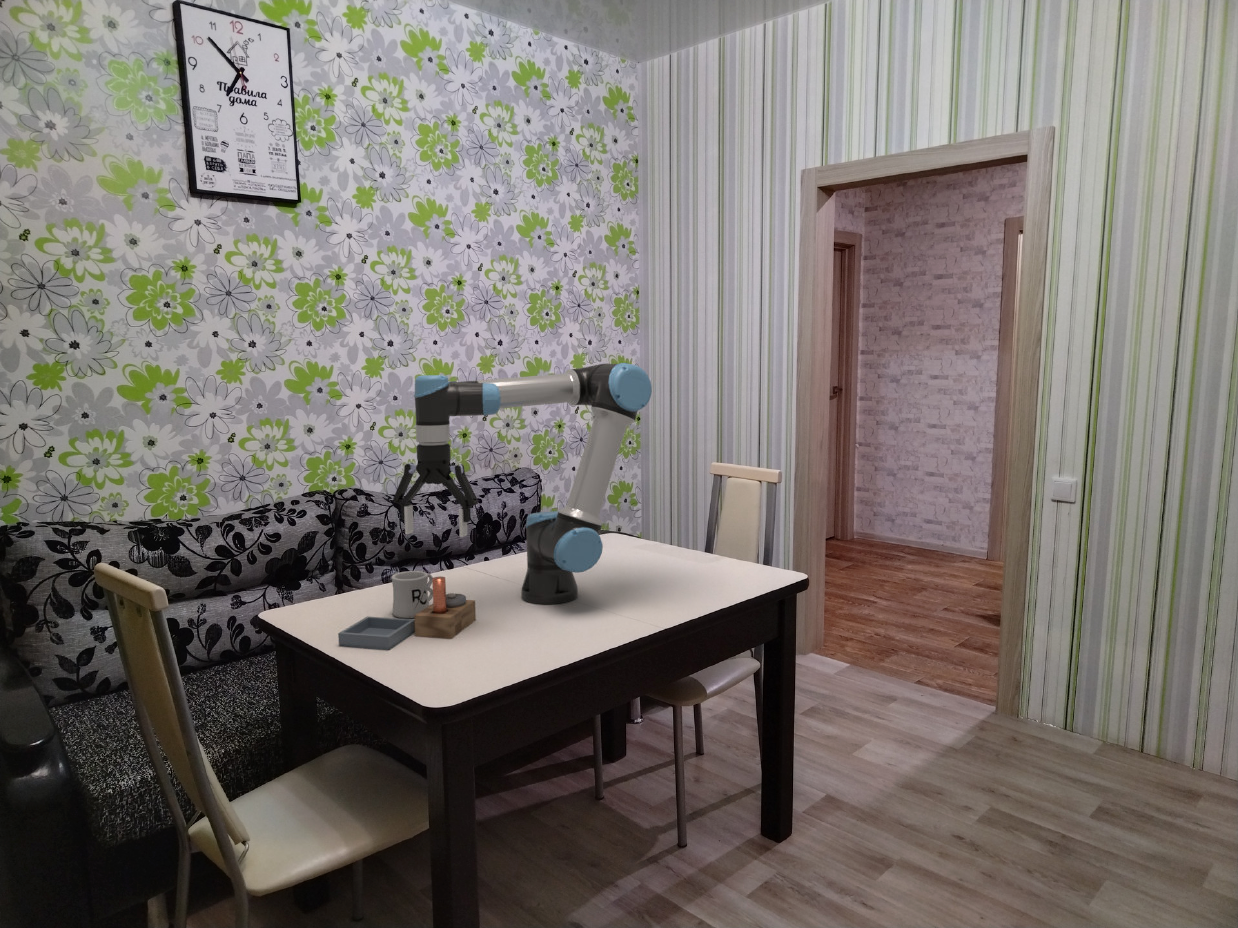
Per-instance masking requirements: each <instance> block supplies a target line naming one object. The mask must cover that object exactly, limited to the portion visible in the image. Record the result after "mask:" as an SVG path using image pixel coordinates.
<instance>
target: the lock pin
mask: <svg viewBox="0 0 1238 928" xmlns="http://www.w3.org/2000/svg"><path fill="white" fill-rule="evenodd" d="M446 583H447V582H446V577H445V576H441V575H440V576H435V577H433V578H432V584H431V586H432V590H433V597H432V604H433V612H434V614H445V613H446V612H447V609H446V594H447V588H446V586H447V584H446Z"/></svg>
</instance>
